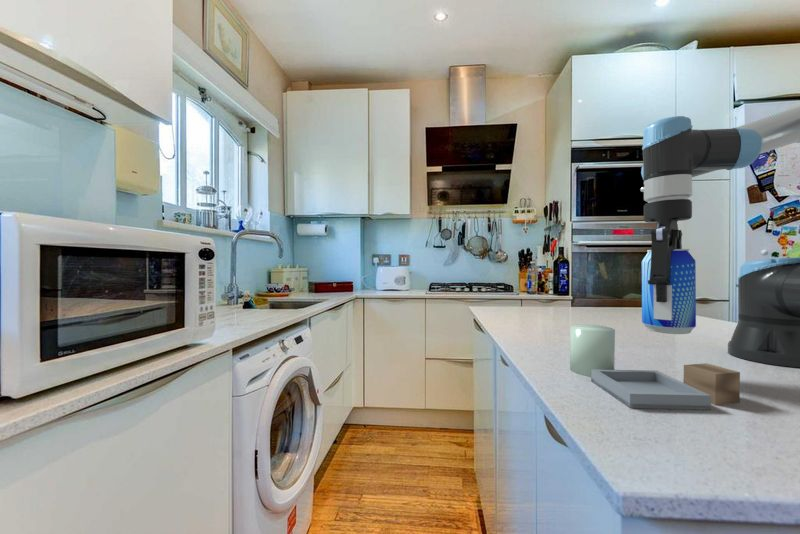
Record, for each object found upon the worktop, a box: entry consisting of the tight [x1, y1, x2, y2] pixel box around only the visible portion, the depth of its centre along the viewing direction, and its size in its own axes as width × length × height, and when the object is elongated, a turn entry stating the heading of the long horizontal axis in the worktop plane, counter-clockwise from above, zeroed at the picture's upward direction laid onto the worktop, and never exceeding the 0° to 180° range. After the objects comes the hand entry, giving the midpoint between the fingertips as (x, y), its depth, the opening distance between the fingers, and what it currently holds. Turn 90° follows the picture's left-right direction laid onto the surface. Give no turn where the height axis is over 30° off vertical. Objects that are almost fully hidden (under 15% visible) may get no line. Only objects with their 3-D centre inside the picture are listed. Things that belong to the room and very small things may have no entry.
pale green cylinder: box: [569, 323, 616, 378], centre depth 72 cm, size 8×8×9 cm
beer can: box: [641, 248, 697, 335], centre depth 69 cm, size 8×8×16 cm
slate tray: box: [590, 369, 712, 411], centre depth 60 cm, size 12×12×2 cm
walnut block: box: [683, 362, 741, 406], centre depth 58 cm, size 5×5×5 cm
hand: (668, 316), depth 69 cm, fingers closed on beer can, 8 cm apart
